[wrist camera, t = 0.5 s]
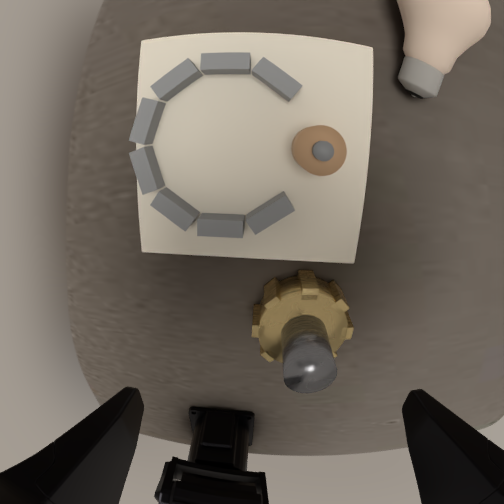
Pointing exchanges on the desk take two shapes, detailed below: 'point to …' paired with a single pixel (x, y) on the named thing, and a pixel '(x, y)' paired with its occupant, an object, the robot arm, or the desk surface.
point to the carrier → (252, 145)
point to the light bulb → (438, 39)
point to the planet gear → (302, 329)
